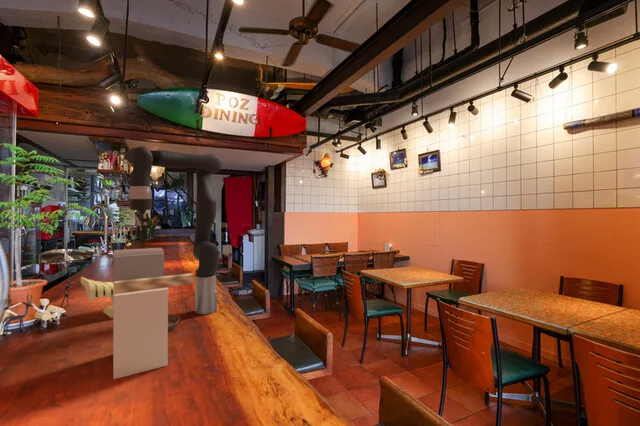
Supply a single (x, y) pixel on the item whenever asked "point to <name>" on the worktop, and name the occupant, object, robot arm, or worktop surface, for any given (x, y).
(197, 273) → the robot arm
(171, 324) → the plant saucer
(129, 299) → the stepped stand
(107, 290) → the slatted curved stool
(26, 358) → the worktop surface
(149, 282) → the maple bar
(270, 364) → the worktop surface
